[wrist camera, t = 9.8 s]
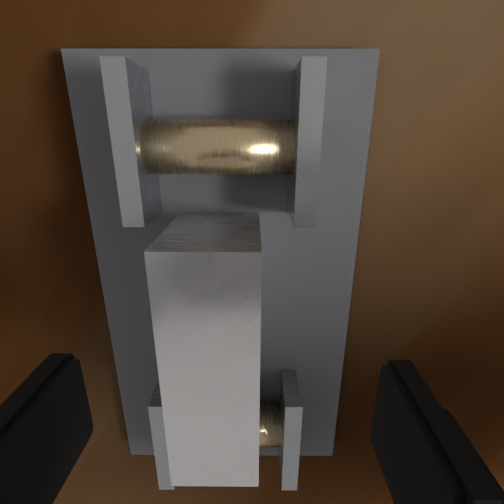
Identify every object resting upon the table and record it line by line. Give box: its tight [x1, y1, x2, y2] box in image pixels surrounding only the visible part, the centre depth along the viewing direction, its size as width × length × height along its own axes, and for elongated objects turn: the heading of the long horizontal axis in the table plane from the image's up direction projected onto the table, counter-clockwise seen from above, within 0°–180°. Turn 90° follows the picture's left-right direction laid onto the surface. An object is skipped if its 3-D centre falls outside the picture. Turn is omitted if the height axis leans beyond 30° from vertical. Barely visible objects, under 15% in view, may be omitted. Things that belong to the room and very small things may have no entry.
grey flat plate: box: [61, 49, 380, 456], centre depth 16 cm, size 12×21×1 cm, turn 0°
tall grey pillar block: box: [144, 213, 262, 487], centre depth 14 cm, size 4×10×5 cm, turn 0°
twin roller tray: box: [99, 56, 328, 490], centre depth 15 cm, size 7×20×2 cm, turn 0°
